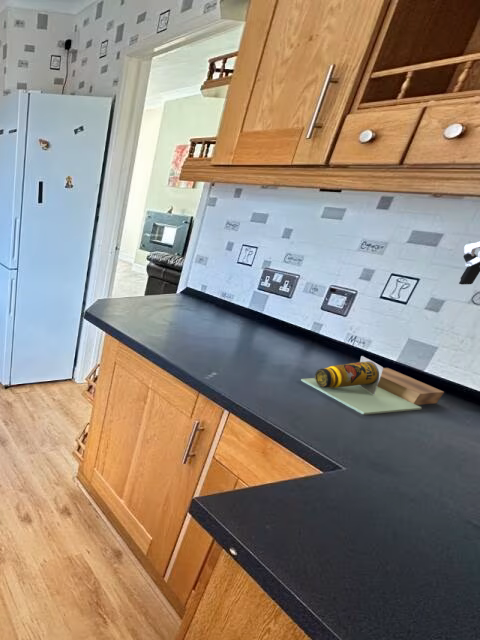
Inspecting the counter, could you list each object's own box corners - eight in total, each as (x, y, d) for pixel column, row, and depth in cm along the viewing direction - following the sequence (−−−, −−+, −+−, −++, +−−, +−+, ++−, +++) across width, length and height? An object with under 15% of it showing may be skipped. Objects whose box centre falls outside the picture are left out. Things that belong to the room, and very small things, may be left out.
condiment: (384, 367, 107) (332, 373, 108) (375, 395, 110) (325, 400, 112) (362, 355, 113) (314, 361, 115) (354, 382, 117) (308, 387, 119)
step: (381, 378, 121) (388, 367, 119) (436, 403, 109) (444, 391, 107) (359, 380, 120) (365, 369, 118) (412, 405, 108) (419, 393, 106)
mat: (352, 376, 121) (353, 375, 121) (420, 409, 106) (422, 407, 106) (300, 380, 118) (301, 378, 118) (363, 414, 103) (364, 412, 103)
